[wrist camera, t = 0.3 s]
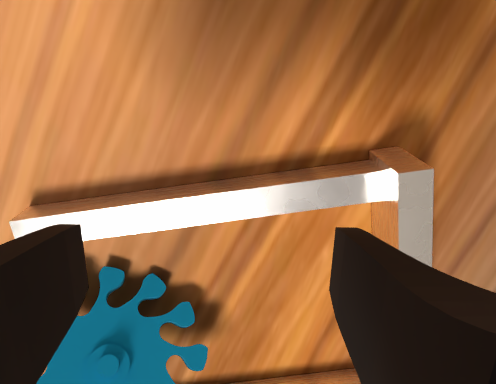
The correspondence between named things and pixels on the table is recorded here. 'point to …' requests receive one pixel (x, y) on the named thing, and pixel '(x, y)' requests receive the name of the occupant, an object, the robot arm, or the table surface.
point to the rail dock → (267, 211)
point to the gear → (122, 340)
